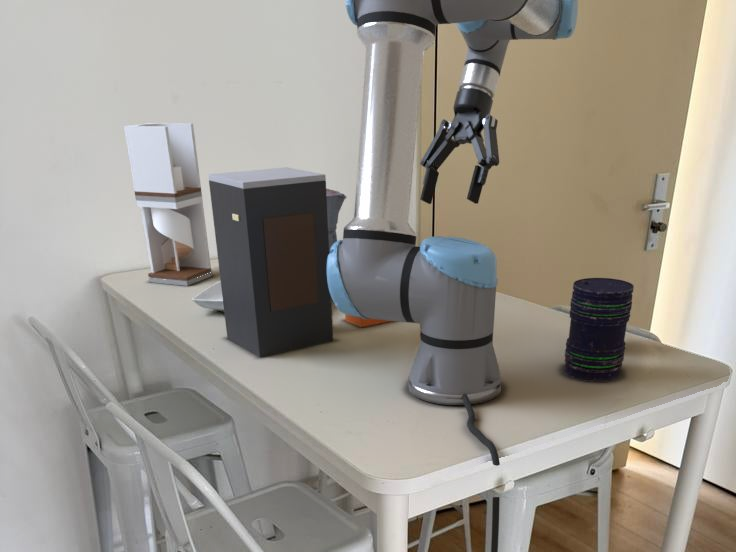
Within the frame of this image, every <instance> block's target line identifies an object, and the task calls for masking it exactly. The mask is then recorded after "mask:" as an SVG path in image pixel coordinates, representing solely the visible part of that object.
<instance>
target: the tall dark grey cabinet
mask: <svg viewBox="0 0 736 552" xmlns="http://www.w3.org/2000/svg"><path fill="white" fill-rule="evenodd" d="M207 176H208V185H209V186H208V187H209V193H210V203H211V210H212V211H211V212H212V219H213V227H214V228H213V229H214V235H215V245H216V253H217V262H218V269H219V278H220V279H219V281H220V280H221V288H222V297H223V305H224V312H223V313H224V322H225V330H226V339H227V340H229V341H231V342H233V343H234V344H236V345H238V346H239V347H241V348H243V349H245V350H246V351H248V352H249V353H252V354H254V356H257V357H258V358H263V357H267V356H272V355H276V354H281V353H285V352H286V353H287V352H289V351H293V350H299V349H303V348H307V347H312V346H316V345H317V346H318V345H321V344H326V343H330V342H333V341H334V327H333V325H334V324H333V306H332V298H331V295H330V292H329V288H328V282H327V258H328V255H329V239H328V217H327V196H326V189H327V181H326V180H327V178H326V174H325V173H319V172H314V171H308V170H304V169H299V168H292V167H275V168H265V169H263V168H262V169H253V170H242V171H232V172H231V171H230V172H219V173H209V174H207Z"/></svg>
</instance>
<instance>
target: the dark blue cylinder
mask: <svg viewBox="0 0 736 552" xmlns="http://www.w3.org/2000/svg"><path fill="white" fill-rule="evenodd" d="M634 287H635V286H634V284H633V283H631V282H629V281H626V280H623V279H617V278H609V277H587V278H581V279H577V280H574V282H573V285H572V290H573V291H572V293H571V298H570V305H569V306H570V309H569V311H568V312H569V318H570V323H569V333H568V338H567V339H566V342H565V349H564V366H563V373H564V374H565V375H566V376H568V377H570V378H573V379H575V380H579V381H583V382H592V383H593V382H595V383H603V382H610V381H614V380H617V379H618V378H620V377H621V375H622V369H621V368H622V367H623V362H624V360H625V359H624V357H625V350H626V342H625V337H626V332H627V325H628V322H629V321H630V318H631V311H632V306H633V293H634V289H635V288H634Z"/></svg>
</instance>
